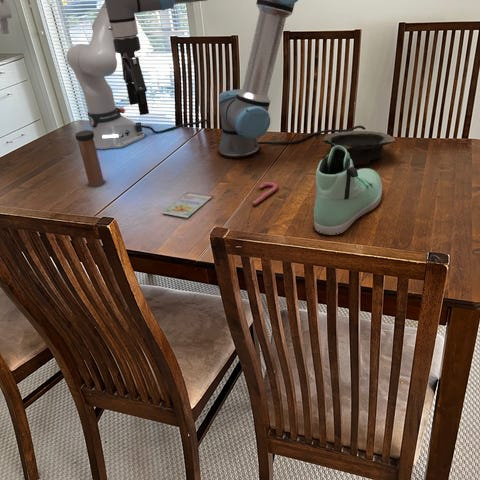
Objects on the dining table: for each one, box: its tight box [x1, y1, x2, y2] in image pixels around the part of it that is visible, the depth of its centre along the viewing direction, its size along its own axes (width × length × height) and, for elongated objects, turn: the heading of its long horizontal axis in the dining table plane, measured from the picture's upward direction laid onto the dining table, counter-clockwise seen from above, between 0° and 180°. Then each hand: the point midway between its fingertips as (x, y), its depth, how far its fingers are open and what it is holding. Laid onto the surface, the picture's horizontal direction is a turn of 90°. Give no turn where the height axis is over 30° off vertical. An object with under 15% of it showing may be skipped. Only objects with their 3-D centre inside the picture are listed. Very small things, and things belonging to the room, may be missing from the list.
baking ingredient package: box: [162, 192, 212, 218], centre depth 147 cm, size 9×1×15 cm
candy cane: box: [252, 181, 279, 206], centre depth 150 cm, size 6×15×2 cm, turn 145°
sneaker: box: [313, 146, 383, 236], centre depth 133 cm, size 14×35×20 cm, turn 152°
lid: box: [75, 129, 94, 142], centre depth 158 cm, size 6×6×2 cm
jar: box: [77, 138, 105, 188], centre depth 163 cm, size 5×5×18 cm
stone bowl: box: [321, 130, 396, 167], centre depth 169 cm, size 25×25×9 cm
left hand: (0, 32), depth 160 cm, fingers open, 8 cm apart
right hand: (139, 109), depth 151 cm, fingers open, 13 cm apart
